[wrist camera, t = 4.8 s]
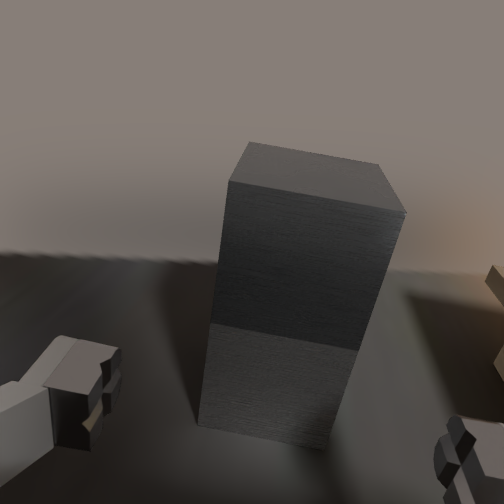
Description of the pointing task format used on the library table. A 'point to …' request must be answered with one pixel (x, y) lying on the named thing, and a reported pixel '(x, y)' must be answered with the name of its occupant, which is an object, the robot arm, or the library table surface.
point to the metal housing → (294, 290)
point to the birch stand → (500, 283)
